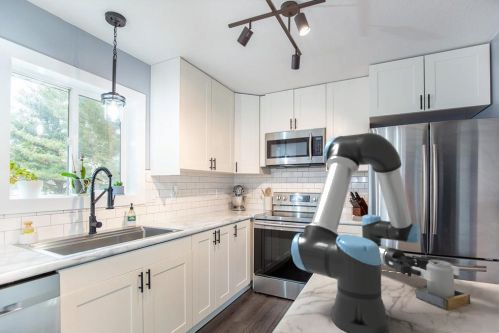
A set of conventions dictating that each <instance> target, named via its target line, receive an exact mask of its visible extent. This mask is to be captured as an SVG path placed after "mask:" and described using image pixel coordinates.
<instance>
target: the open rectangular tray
mask: <svg viewBox="0 0 499 333" xmlns="http://www.w3.org/2000/svg"><path fill="white" fill-rule="evenodd" d="M415 298H416V299H418V300H420V301H422V302H425V303H427V304H430V305H431V306H434V307H437V308H440V309H441V310H444V311H450V310H454V309H458V308H463V307H465V306H469V305H471V303H472V302H471V294H469V293H467V292H464V291H461V290H458V289H455V288H454V297H450V298H447V299H444V298H441V297H439V296H436V295H434V294H431V293H428V292H427V291H425V290H423V289H421V288H415Z"/></svg>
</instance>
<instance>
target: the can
mask: <svg viewBox="0 0 499 333" xmlns="http://www.w3.org/2000/svg"><path fill="white" fill-rule="evenodd" d="M450 265H452V264H451V262H448V261H445V260H441V259H440V260H439V259H435V260H429V263H428V264H427V265H426V267H425V268H426V270H427V271H430V272H432V281H429V280H426V284H427V285H426V290H427V291H426V292H428V293H431V294H434V295H436V296H439V297H441V298H444V299H447V298H450V297H454V289H455V275H454V269H453V268H452V267H451V266H450Z"/></svg>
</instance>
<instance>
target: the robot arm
mask: <svg viewBox="0 0 499 333" xmlns="http://www.w3.org/2000/svg"><path fill="white" fill-rule="evenodd" d="M323 153H324V154H323V158H324V161H325V163H326V166H327V167H328V171H327V173H326V177H325V180H324V183H323V186H322V188H321V192H320V194H319V199H318V201H317V204H316V207H315V211H314V214H313V216H312V221H311V223H308V224H305V227H304V230H303V232H298V233H296V234H295V236H294V237H293V239H292V242H291V249H290V252H291V256H292V260H293V263H294V264H295V266H296V267H297V268H298V269H300V270H302V271H306V272H307V273H312V274H315V275H316V274H317V275H319V276H324V277H327V278H331V279H335V280H336V281H337V285H336V286H337V287H336V288H337V292H336V294H335V295H336V296H335V299H334V303H333V305H332V308H331V321H332V322H333V324H335V326H337V327H338V328H339V329H341V330H343V331H344V332H347V333H389V331H390V317H389V315H388V313H387V310H386V307H385V303H384V300H383V298H382V265H383V266H384V267H386V266H387V267H390V268H392V269H395V270H396V271H398V273H400V274H402V275H406V276H407V277H412V275H413V276H416V277H418V278H421V279H424V280H426V281H427V280H429V281H432V272H430V271H427V269H423V268H427V267H426V265H427V264H428V263H429V260H436V259H434V258H429V257H428V258H427V257H423V256H422V257H421V256H418V255H412V256H410V255H406V254H405V253H404V252H403V250H401V249H398V248H393V247H390V246H387V245H383V244H382V240H389V241H390V240H391V241H396V242H401V243H402V242H403V243H407V244H408V243H410V244H411V243H412V244H417V243H419V242H420V241H421V234H422V233H421V231H422V230H421V227H420V225H419V224H417V223H412V217H411V214H410V213H411V212H410V209H409V205H408V201H407V196H406V192H405V189H404V184H403V179H402V175H401V171H400V169H401V167H402V166H403V165H402V160H401V157H400V154H399V152H398V151H397V148H395V146H394V145H393V143H392V142H390V141H389V140H388V139H386V137H384V136H383V135H380V134H377V133H374V132H366V133H359V134H358V133H356V134H349V135H338V136H336V137H332V138H329V140H328V141H327V143H326V144H325V147H324V151H323ZM364 165H365V166H369V165H370V166H371V168H372V171H373V172H374V173H376V175H377V178H378V182H379V186H380V190H381V192H382V197H383V200H384V204H385V208H386V212H387V214H388V220H389V221H388V220H382V218H381V216H380V215H376V214H365V215H363V216H362V217H361V218H362V219H361V220H362V222H361V231H362V232H361V234H362V236H360V235H359V236H358V235H351V234H340V235H339V232H338V228H339V224H340V222H341V217H342V213H343V210H344V207H345V203H346V199H347V195H348V191H349V189H350V184H351V181H352V178H353V175H355V174H357V173H358V171H359V169H360V166H364ZM438 260H441V259H438ZM450 266H451V267H452V268H453V269H454V276H460V267H459V266H456V265H452V264H451V265H450ZM420 267H422V268H420Z"/></svg>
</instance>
